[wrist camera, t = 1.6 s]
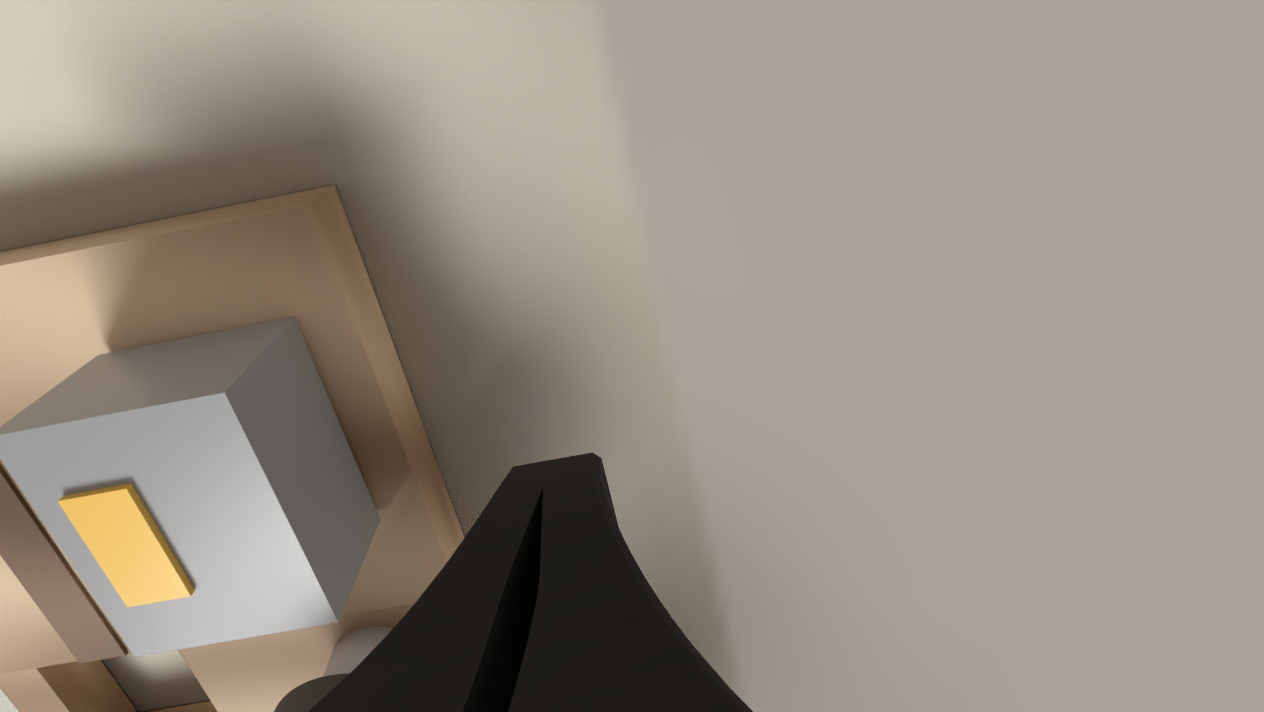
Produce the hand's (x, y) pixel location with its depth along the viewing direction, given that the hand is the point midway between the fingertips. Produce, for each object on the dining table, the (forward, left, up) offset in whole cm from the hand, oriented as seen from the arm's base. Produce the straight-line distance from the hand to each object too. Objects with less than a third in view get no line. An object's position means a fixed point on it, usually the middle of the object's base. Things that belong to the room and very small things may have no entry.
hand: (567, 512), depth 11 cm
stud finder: (0, +7, -5) cm, 8 cm away
